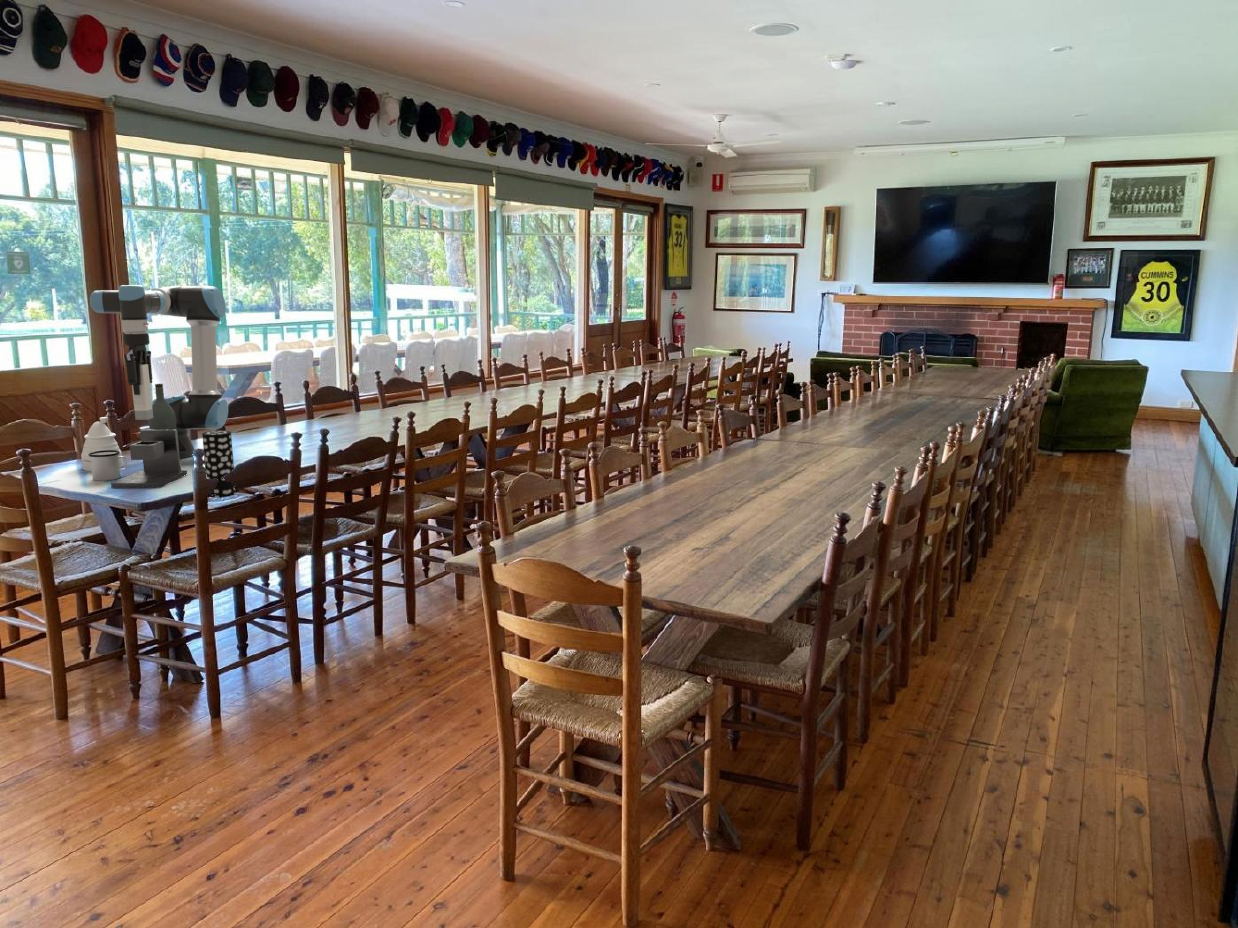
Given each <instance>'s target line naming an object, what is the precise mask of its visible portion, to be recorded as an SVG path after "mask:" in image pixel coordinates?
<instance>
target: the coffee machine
mask: <svg viewBox="0 0 1238 928" xmlns="http://www.w3.org/2000/svg"><path fill="white" fill-rule="evenodd" d="M139 434H140V435H139V437H140V441H137V442H135V443H132V444H129V452H130V460H131V461H142V464H143V465H142V466H143V469H142V470H138V471H136V472H134V473H131V474H129V475H127V476H124V477H122V478H118V479H116V480H115V481H113V482H110V487H111V488H113V489H114V488H116V489H117V488H119V489H120V488H123V489H124V488H127V489H128V488H129V489H130V488H131V489H134V488H139V489H140V488H145V489H147V488H162V487H164V486H166V484H167V485H168V483H169V484H170V482H171V483H172V482H175V481H177V480H179V479H181V478H183V477H185V476H187V475H188V470H182V468H181V467H182V466H181V458H180V455H179V445H178V434H177V430H150V429H139ZM186 474H187V475H186ZM184 475H185V476H184ZM182 476H183V477H182Z"/></svg>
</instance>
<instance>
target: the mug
mask: <svg viewBox="0 0 1238 928" xmlns="http://www.w3.org/2000/svg"><path fill="white" fill-rule="evenodd" d="M118 454H120V451H117V450H102V451H95V452H91V453H89V454H88V456H90V458H91V467H92V471H91V475H92V480H93V481H96V482H105V481H106V482H108V481H114V480H119V479H121V471H125V470H127V467H128V465H127V457H126V456H124V455H122V456H120V457H118ZM119 458H122V459H123V460H124V461H123V462H124V467H123V468H121V467H119Z"/></svg>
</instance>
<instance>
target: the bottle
mask: <svg viewBox="0 0 1238 928" xmlns="http://www.w3.org/2000/svg"><path fill="white" fill-rule="evenodd" d="M154 387H155V399H156V401H155V402H154V404H153V406H152V409H153V418H151V419H148V420H147V421H148V428H149V430H176V417H175V413H174V410H173V409H172V408H171V406H170V405H169V404H168V403H167V401H166V400H165V399H164V397H165V395H164V394H165V393H164V384H163V383H155V384H154Z"/></svg>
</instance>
